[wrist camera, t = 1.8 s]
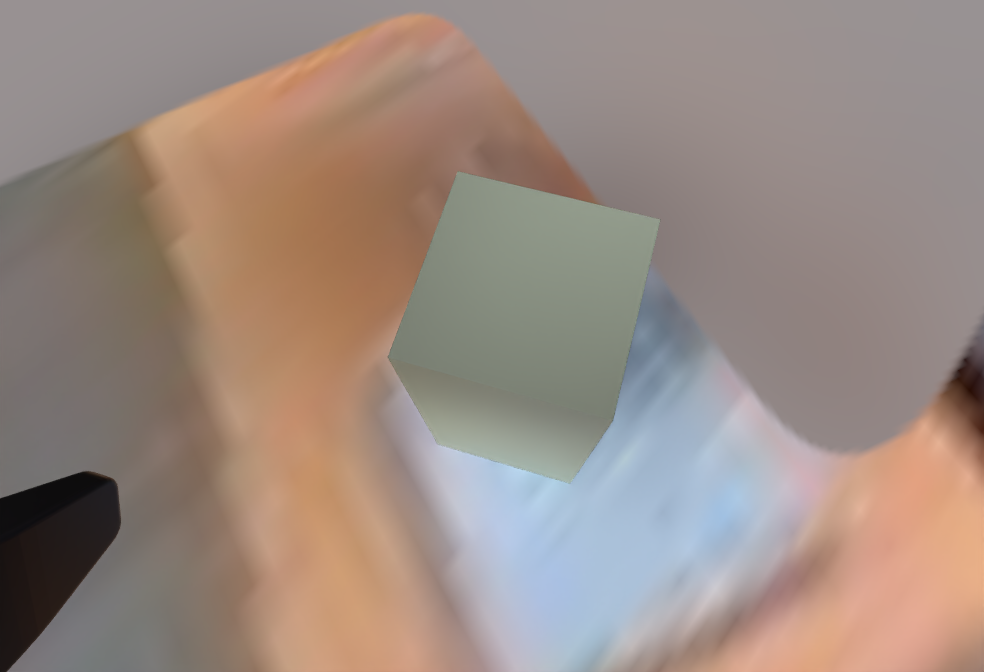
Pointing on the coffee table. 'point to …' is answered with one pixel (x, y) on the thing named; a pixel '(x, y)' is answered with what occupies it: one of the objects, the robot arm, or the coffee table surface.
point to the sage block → (523, 323)
